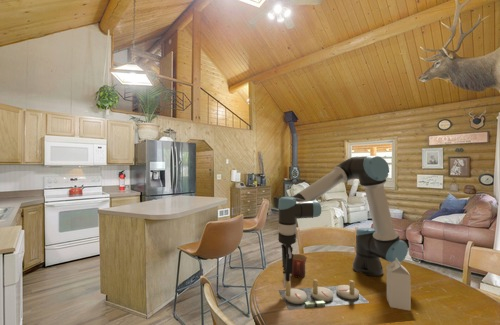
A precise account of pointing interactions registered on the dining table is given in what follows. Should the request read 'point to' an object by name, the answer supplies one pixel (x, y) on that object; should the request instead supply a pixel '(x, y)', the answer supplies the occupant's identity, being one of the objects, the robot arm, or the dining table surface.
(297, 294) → the knob
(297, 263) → the mug
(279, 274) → the dining table surface
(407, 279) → the milk carton
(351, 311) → the dining table surface
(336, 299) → the base plate
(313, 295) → the knob middle
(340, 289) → the knob
